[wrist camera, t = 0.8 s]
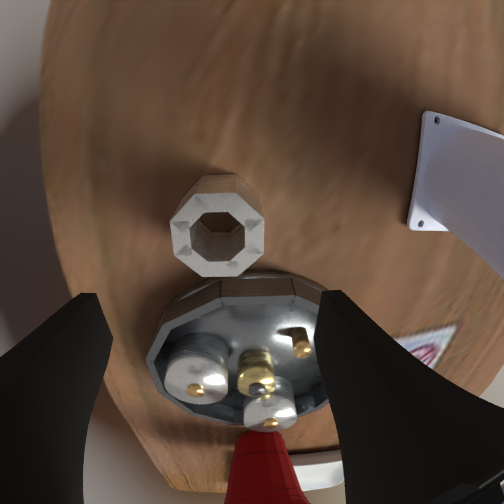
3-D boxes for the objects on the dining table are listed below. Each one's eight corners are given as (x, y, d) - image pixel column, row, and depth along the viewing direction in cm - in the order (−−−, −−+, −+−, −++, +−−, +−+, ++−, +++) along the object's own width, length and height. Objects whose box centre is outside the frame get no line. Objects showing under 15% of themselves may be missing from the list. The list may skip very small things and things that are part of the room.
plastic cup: (290, 451, 35) (299, 521, 24) (216, 450, 33) (215, 524, 23) (314, 419, 30) (331, 508, 19) (222, 418, 28) (221, 516, 18)
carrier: (370, 265, 19) (399, 309, 15) (330, 395, 27) (340, 433, 23) (135, 271, 18) (112, 318, 14) (175, 400, 26) (170, 440, 22)
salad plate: (235, 481, 44) (235, 495, 41) (240, 448, 34) (240, 469, 31) (334, 474, 46) (337, 487, 43) (375, 435, 36) (380, 452, 33)
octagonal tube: (259, 173, 16) (264, 192, 13) (258, 244, 18) (262, 275, 15) (180, 176, 16) (166, 195, 13) (187, 246, 18) (177, 277, 15)
